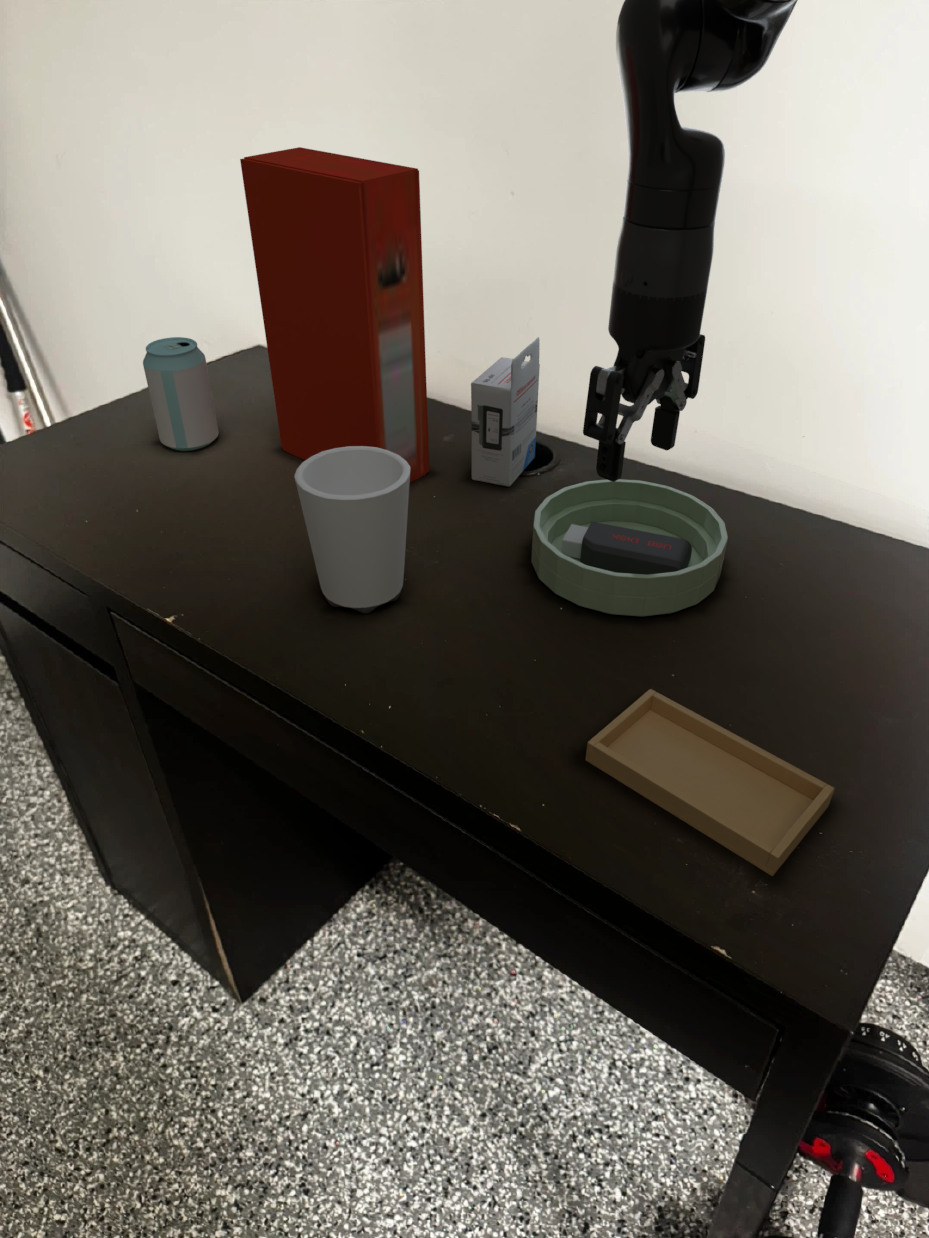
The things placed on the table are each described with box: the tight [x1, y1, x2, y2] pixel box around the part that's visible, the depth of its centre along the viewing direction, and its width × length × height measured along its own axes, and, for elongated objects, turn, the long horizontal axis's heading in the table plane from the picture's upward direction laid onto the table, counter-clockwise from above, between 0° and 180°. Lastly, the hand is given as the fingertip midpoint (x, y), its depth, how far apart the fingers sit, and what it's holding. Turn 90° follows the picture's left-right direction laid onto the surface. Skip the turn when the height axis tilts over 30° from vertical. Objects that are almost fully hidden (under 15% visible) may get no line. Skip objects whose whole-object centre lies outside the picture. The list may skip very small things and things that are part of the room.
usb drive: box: [562, 522, 692, 575], centre depth 86 cm, size 5×12×3 cm, turn 69°
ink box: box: [470, 336, 541, 488], centre depth 99 cm, size 8×5×15 cm, turn 156°
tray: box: [584, 688, 836, 877], centre depth 64 cm, size 15×8×2 cm, turn 47°
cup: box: [293, 446, 411, 614], centre depth 80 cm, size 10×10×13 cm
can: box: [142, 336, 220, 452], centre depth 106 cm, size 7×7×12 cm
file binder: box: [239, 147, 430, 483], centre depth 95 cm, size 8×17×32 cm, turn 48°
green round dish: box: [530, 478, 729, 617], centre depth 86 cm, size 18×18×4 cm
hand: (636, 461), depth 81 cm, fingers open, 8 cm apart
